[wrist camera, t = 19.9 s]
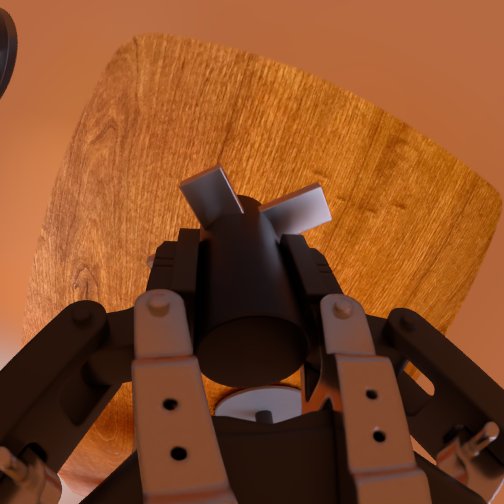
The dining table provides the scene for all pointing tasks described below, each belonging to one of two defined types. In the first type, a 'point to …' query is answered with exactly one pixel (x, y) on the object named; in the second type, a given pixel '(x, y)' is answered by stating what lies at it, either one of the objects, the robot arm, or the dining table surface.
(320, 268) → the robot arm
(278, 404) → the lid
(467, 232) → the dining table surface
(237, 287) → the blade unit
